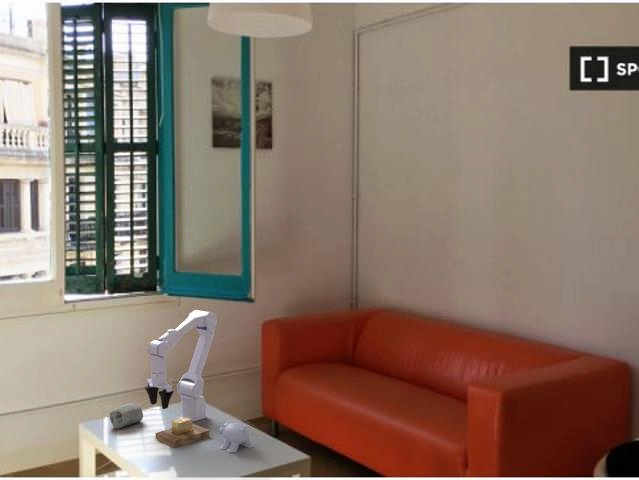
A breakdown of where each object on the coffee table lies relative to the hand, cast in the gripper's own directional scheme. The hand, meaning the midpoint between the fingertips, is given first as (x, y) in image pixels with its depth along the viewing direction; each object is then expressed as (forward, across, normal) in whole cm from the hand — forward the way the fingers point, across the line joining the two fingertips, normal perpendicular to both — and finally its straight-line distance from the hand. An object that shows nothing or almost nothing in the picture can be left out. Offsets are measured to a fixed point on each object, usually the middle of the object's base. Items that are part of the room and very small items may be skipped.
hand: (159, 406), depth 294 cm
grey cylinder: (+10, -14, -6) cm, 18 cm away
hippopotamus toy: (+10, +34, +10) cm, 36 cm away
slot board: (+9, +14, +1) cm, 16 cm away
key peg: (+10, +14, +1) cm, 17 cm away
